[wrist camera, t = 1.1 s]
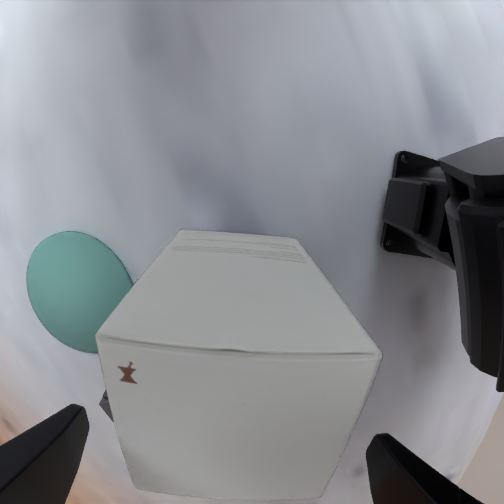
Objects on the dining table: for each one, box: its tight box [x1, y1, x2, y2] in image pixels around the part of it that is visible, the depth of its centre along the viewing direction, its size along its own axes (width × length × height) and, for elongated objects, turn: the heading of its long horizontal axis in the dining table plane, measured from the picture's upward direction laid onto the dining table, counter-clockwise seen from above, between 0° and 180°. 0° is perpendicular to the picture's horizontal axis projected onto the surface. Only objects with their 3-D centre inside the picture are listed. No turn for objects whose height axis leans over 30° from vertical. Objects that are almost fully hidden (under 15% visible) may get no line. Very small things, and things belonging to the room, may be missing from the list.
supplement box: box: [95, 229, 383, 500], centre depth 14 cm, size 7×7×13 cm
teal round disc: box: [26, 231, 133, 353], centre depth 19 cm, size 9×9×1 cm
